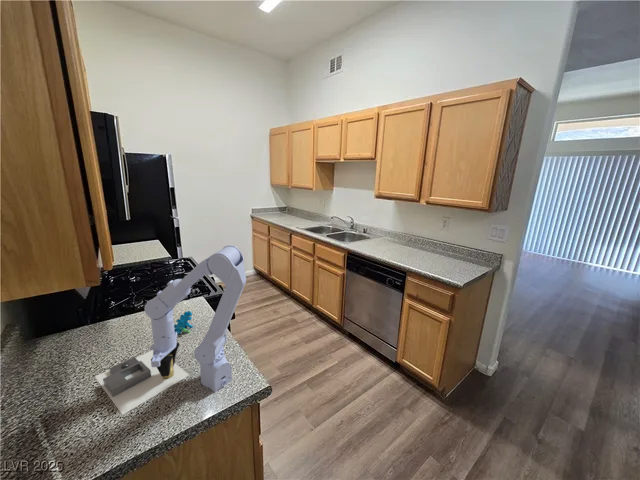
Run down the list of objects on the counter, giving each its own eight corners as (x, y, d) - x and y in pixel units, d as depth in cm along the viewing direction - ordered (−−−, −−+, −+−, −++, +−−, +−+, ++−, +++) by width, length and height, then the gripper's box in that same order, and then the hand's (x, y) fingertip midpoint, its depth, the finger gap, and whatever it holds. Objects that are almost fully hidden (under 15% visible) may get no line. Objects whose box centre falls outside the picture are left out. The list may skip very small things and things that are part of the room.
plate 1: (151, 376, 82) (150, 372, 82) (125, 390, 76) (124, 386, 76) (134, 360, 89) (134, 355, 89) (109, 371, 83) (108, 367, 83)
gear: (171, 322, 111) (188, 305, 112) (183, 328, 114) (199, 311, 115) (171, 340, 102) (190, 321, 103) (184, 345, 105) (202, 327, 106)
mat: (189, 377, 83) (189, 375, 83) (122, 417, 69) (122, 414, 69) (157, 350, 96) (157, 348, 95) (95, 379, 81) (94, 376, 81)
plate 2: (151, 376, 82) (150, 370, 81) (112, 397, 74) (111, 390, 73) (141, 367, 86) (140, 360, 85) (104, 385, 78) (102, 378, 77)
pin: (176, 374, 83) (174, 355, 82) (165, 380, 81) (163, 361, 79) (171, 370, 85) (169, 351, 83) (160, 375, 82) (158, 356, 81)
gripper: (159, 320, 86) (163, 356, 89) (137, 348, 72) (142, 390, 75) (182, 319, 87) (185, 355, 90) (165, 346, 73) (169, 387, 76)
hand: (167, 370), depth 82 cm, fingers closed on pin, 3 cm apart
